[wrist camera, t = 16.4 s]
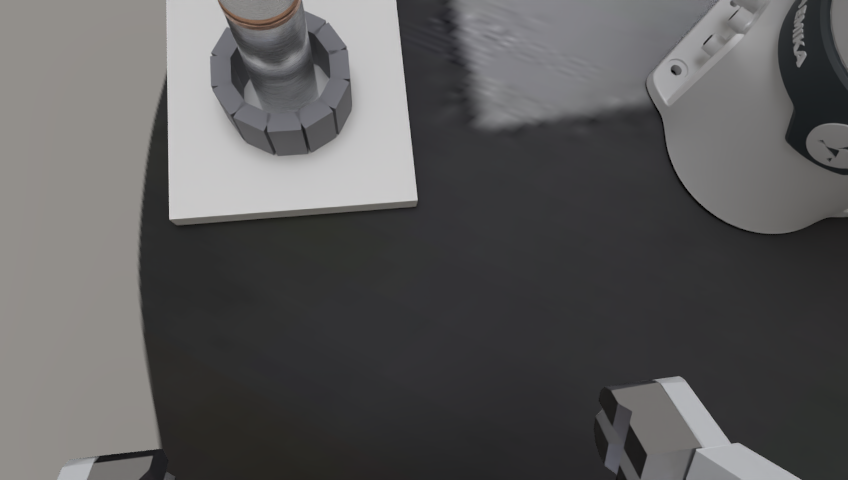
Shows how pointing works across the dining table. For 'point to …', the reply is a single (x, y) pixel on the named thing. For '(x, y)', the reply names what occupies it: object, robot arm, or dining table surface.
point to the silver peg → (274, 51)
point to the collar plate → (287, 119)
